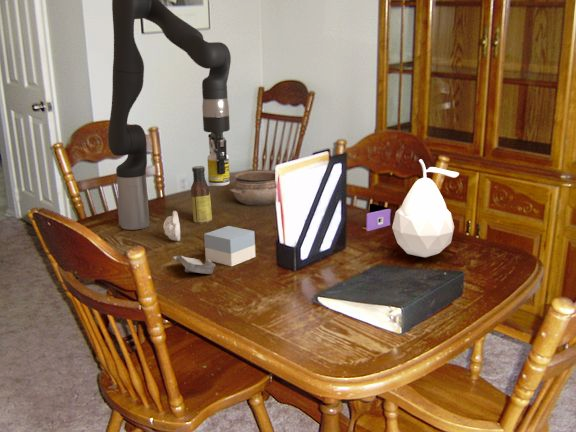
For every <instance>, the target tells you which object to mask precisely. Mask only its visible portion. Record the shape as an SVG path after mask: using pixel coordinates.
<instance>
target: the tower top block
mask: <svg viewBox="0 0 576 432" xmlns="http://www.w3.org/2000/svg"><path fill="white" fill-rule="evenodd" d="M203 237H204V238H203V239H204V249H205V248H209V249H213V250H217V251H221V252H225V253H229V254H232V253H234V252H237V251H240V250H242V249H245V248H248V247H250V246H253V245H255V246H256V239H255V230H250V229H244V228H242V227H236V226H231V225H227V226H224V227H221V228H217V229H214V230H213V231H210V232H209V231H208V232H205V233H203Z"/></svg>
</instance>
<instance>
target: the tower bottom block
mask: <svg viewBox="0 0 576 432" xmlns="http://www.w3.org/2000/svg"><path fill="white" fill-rule="evenodd" d="M204 250H205V251H204V254H205V255H204V256H205V261H206V260H207V259H209V260H211V261H212V262H214V263H217V264H221V265H225V266H230V267H234V266H236V265H238V264H239V265H240V264H241V263H243V262H246V261H249V260H251V259H254V258H256V244H255V245H253V246H250V247H248V248H245V249H242V250H240V251H237V252H234V253H232V254H229V253H225V252H221V251H217V250H213V249H209V248H205V247H204Z"/></svg>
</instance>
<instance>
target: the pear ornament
mask: <svg viewBox="0 0 576 432" xmlns="http://www.w3.org/2000/svg"><path fill="white" fill-rule="evenodd" d="M418 162H419V163H420V166H421V169H422V174H423V175H422V177H421V178H418V179H417V180H416V181H415V182H414V184H413V185H412V187H411V188H410V190H409V191H408V192H407V195H406V196H405V198H404V200H403V202H402V204H401V206H400V207H399V208H398V209H397V210H396V211H395V214H394V218H393V223H392V226H391V227H392V232H393V234H394V237H395V240H396V242H397V244H398V245H399V246H400V248H401V249H403V251H404V252H405V253H406V254H407V255H412V256H416V257H422V258H428V257H431V256H432V257H433V256H435V255H438V254H440V253H441V252H442V251H443V250H445V249H446V247H448V246H449V245H450V244H451V243H452V240H453V234H454V230H455V225H454V221H453V216H452V213H451V211H449V209H448V208H447V204H446V202H445V200H444V198H443V195H442V194H441V191H440V190H439V188H438V186H437V184H436V183H435V182H434V180H433V179H431V178H429V177H427V173H433V174H440V175H443V176H446V177H449V178H453V179H455V178H457V177H459V175H460V172H457V171H454V170H453V171H452V170H448V169H444V168H440V167H435V166H430V167H428V168H427V169H426V165H425V163H424V160H423V159H419V160H418Z"/></svg>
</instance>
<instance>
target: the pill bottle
mask: <svg viewBox="0 0 576 432" xmlns="http://www.w3.org/2000/svg"><path fill="white" fill-rule="evenodd" d="M216 150H217V149H216ZM210 152H211V154H210ZM220 156H222V154H220ZM229 158H230V156H229V155H228V154H227V160H225V174H220V175H219V174H217V161H216V155H215V154H214V152H213V146H212V147H210V148H209V155H207V174H208V175H207V176H208V185H210V186H211V187H222V186H227V185H229V184H230V182H231V181H230V180H231V179H230V159H229Z"/></svg>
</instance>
